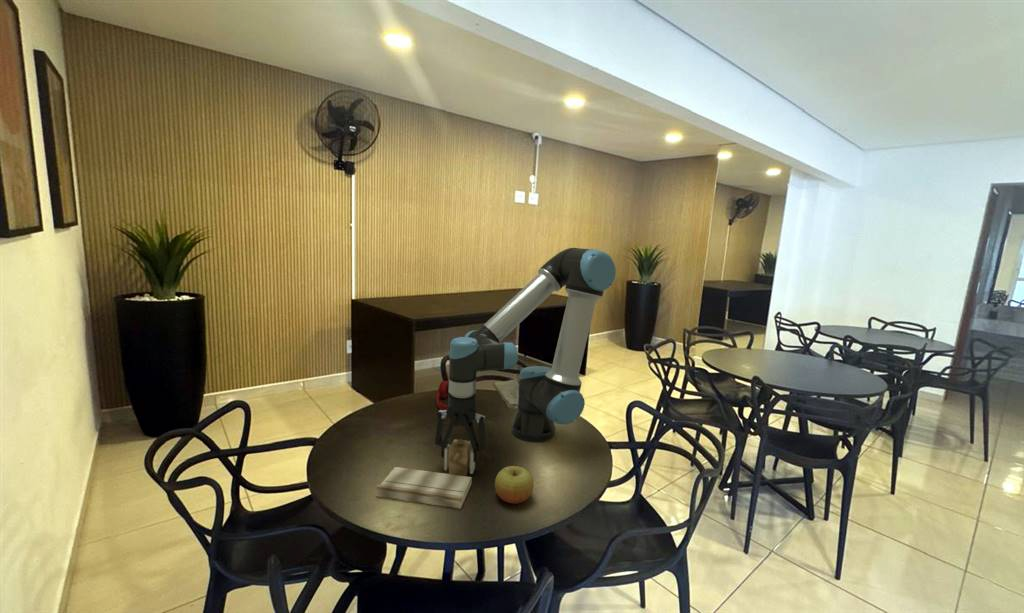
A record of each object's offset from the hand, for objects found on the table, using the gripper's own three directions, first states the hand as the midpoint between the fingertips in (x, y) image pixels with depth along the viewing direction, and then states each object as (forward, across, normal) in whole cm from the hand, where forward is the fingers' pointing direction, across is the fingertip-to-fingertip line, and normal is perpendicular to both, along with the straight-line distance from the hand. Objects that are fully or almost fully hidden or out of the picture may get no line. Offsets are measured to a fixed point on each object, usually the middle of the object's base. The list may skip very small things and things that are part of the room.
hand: (459, 469), depth 124 cm
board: (0, +6, +11) cm, 13 cm away
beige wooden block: (0, 0, +1) cm, 1 cm away
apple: (0, -17, +9) cm, 20 cm away
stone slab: (+1, -7, -60) cm, 60 cm away
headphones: (+1, +15, -47) cm, 50 cm away
